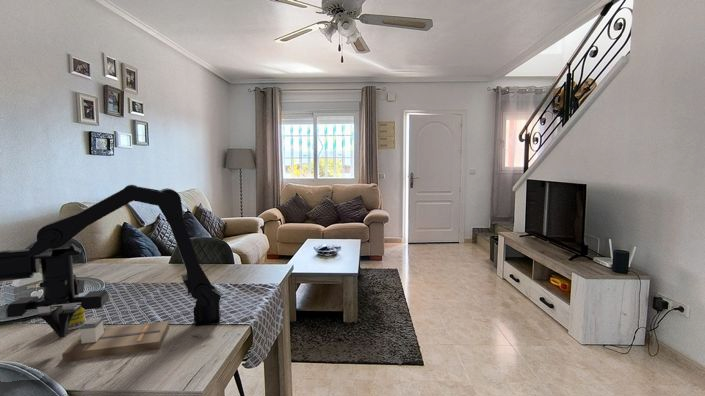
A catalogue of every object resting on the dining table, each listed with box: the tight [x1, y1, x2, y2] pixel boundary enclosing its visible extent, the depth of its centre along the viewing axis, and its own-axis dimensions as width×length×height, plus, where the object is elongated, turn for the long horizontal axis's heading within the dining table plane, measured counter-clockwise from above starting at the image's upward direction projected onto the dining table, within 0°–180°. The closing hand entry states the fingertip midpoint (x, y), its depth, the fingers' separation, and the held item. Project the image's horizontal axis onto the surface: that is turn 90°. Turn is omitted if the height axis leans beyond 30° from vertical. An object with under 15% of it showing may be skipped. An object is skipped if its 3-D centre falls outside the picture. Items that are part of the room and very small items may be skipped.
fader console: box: [61, 320, 170, 363], centre depth 91 cm, size 20×12×2 cm, turn 107°
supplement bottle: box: [62, 293, 86, 331], centre depth 100 cm, size 5×5×10 cm
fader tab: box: [79, 316, 104, 344], centre depth 88 cm, size 3×5×4 cm, turn 17°
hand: (62, 337), depth 87 cm, fingers closed
